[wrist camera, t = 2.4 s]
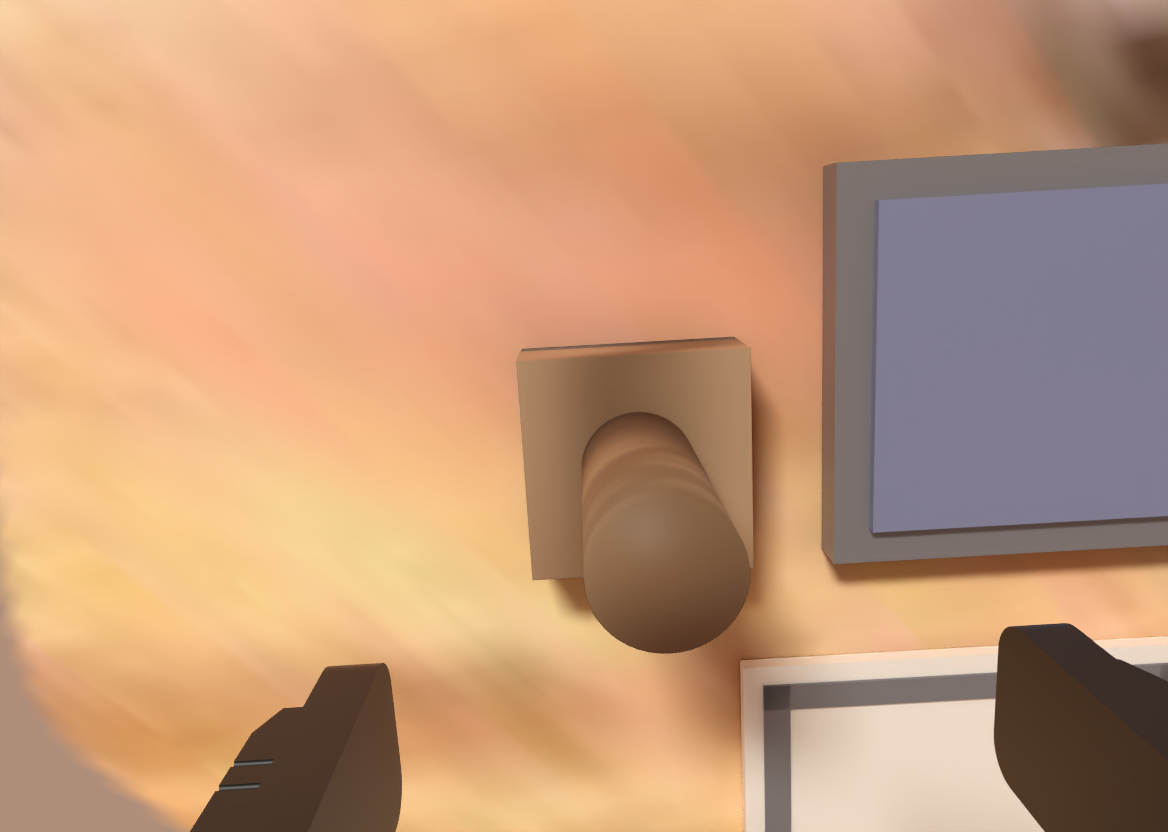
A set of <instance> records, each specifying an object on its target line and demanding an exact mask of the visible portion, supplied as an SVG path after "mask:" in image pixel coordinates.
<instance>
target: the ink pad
mask: <svg viewBox="0 0 1168 832" xmlns="http://www.w3.org/2000/svg"><path fill="white" fill-rule="evenodd" d="M1163 545H1168V144H1152V145H1134V146H1117V147H1100V148H1083V149H1066V150H1048V151H1031V152H1014V153H997V154H980V155H963V156H945V157H928V158H911V159H894V160H877V161H859V162H842V163H834V164H830V165H826V166H823V371H822V550H823V551H824V552H825V554H826V555H827V556H828V557H829V559H830V560H831V561H832V563H833V564H846V563H864V562H881V561H899V560H917V559H934V558H952V557H970V556H987V555H1005V554H1022V553H1040V552H1058V551H1075V550H1093V549H1110V548H1128V547H1146V546H1163Z"/></svg>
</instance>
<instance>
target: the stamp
mask: <svg viewBox="0 0 1168 832" xmlns="http://www.w3.org/2000/svg"><path fill="white" fill-rule="evenodd" d="M516 363H517V377H518V390H519V403H520V417H521V430H522V444H523V457H524V471H525V484H526V498H527V511H528V525H529V538H530V551H531V565H532V578H533V580H546V579H564V578H582V577H584V586H585V593H586V596H587V600H588V603H589V605H590V608H591V610H592V612H593V614H594V615H595V617H596V618H597V620H598V621H599V622H600V624H601V625H602V626H603V627H604V628H605V629H606V630H607V631H608V632H609V633H610V634H611V635H612V636H614V637H615V638H616V639H618V640H619V641H621V642H623V643H625V644H626V645H628V646H631V647H633V648H636V649H638V650H642V651H646V652H652V653H678V652H684V651H688V650H692V649H694V648H697V647H700V646H702V645H704V644H706V643H708V642H710V641H711V640H713V639H714V638H716V637H717V636H719V635H720V634H721V633H722V632H723V631H725V630H726V629H727V628H728V627H729V626H730V624H731V623H732V622H733V621H734V620H735V618H736V617H737V615H738V614H739V612H740V611H741V609H742V607H743V605H744V603H745V600H746V597H747V594H748V589H749V584H750V568H754V557H753V485H752V413H751V348H750V347H748V346H747V345H745V344H744V343H742V342H741V341H739V340H738V339H736V338H735V337H722V338H704V339H687V340H670V341H652V342H635V343H617V344H600V345H582V346H565V347H547V348H530V349H522V350H521V352H520V355H519V357H518V359H517V361H516Z"/></svg>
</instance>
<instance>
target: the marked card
mask: <svg viewBox="0 0 1168 832" xmlns="http://www.w3.org/2000/svg"><path fill="white" fill-rule="evenodd" d="M1093 641H1094V642H1095V643H1096V644H1098V645H1099V646H1100V647H1102V648H1103V649H1104V650H1105V651H1107V652H1108V653H1109V654H1111V655H1112V656H1113V657H1114V658H1116V659H1120V660H1123V661H1125V662H1127V663H1129V664H1131V665H1133V666H1136V667H1138V668H1140V669H1142V670H1144V671H1147V672H1149V673H1151V674H1153V675H1155V676H1158V677H1160V678H1162V679H1164V680H1165V681H1167V682H1168V636H1161V637H1143V638H1126V639H1108V640H1093ZM997 662H998V646H984V647H966V648H948V649H931V650H913V651H895V652H878V653H860V654H842V655H824V656H807V657H789V658H771V659H754V660H740V685H741V739H742V794H743V832H1044V830H1043V829H1042V828H1041V827H1040V825H1039V824H1038V823H1037V821H1036V820H1035V819H1034V818H1033V816H1032V815H1031V814H1030V813H1029V811H1028V810H1027V809H1026V808H1025V806H1024V805H1023V804H1022V803H1021V801H1020V800H1019V799H1018V798H1017V796H1016V795H1015V794H1014V792H1013V791H1012V790H1011V789H1010V787H1009V786H1008V784H1007V782H1006V781H1005V779H1004V777H1003V775H1002V772H1001V770H1000V767H999V764H998V761H997V757H996V752H995V746H994V717H995V699H996V681H997Z"/></svg>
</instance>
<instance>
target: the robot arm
mask: <svg viewBox="0 0 1168 832" xmlns="http://www.w3.org/2000/svg"><path fill="white" fill-rule="evenodd" d="M994 746H995V752H996V757H997V761H998V764H999V767H1000V770H1001V772H1002V775H1003V777H1004V779H1005V781H1006V782H1007V784H1008V786H1009V787H1010V789H1011V790H1012V791H1013V792H1014V794H1015V795H1016V796H1017V798H1018V799H1019V800H1020V801H1021V803H1022V804H1023V805H1024V806H1025V808H1026V809H1027V810H1028V811H1029V813H1030V814H1031V815H1032V816H1033V818H1034V819H1035V820H1036V821H1037V823H1038V824H1039V825H1040V827H1041V828H1042V829H1043V830H1044V832H1168V682H1167V681H1165V680H1164V679H1162V678H1160V677H1158V676H1155V675H1153V674H1151V673H1149V672H1147V671H1144V670H1142V669H1140V668H1138V667H1136V666H1133V665H1131V664H1129V663H1127V662H1125V661H1123V660H1120V659H1116V658H1114V657H1113V656H1112V655H1111V654H1109V653H1108V652H1107V651H1105V650H1104V649H1103V648H1102V647H1100V646H1099V645H1098V644H1096V643H1095V642H1094V641H1093V640H1091V639H1090V638H1089V637H1087V636H1086V635H1085V634H1084V633H1082V632H1081V631H1080V630H1079V629H1077V628H1076V627H1074V626H1073V625H1071V624H1068V623H1061V624H1045V625H1028V626H1012V627H1007V628H1006V629H1005V630H1004V631H1003V632H1002V634H1001V637H1000V640H999V646H998V662H997V681H996V699H995V717H994ZM401 795H402V775H401V764H400V755H399V746H398V738H397V729H396V721H395V712H394V703H393V695H392V686H391V679H390V674H389V670H388V668H387V666H386V664H384V663H376V664H360V665H343V666H328V667H326V668H325V669H324V671H323V672H322V674H321V676H320V678H319V679H318V681H317V683H316V685H315V687H314V688H313V690H312V692H311V694H310V696H309V697H308V699H307V701H306V703H305V705H304V706H303V707H296V708H283V709H282V710H281V711H279V712H278V713H277V714H276V715H274V716H273V717H272V718H270V719H269V720H268V721H267V722H265V723H264V724H263V725H262V726H260V727H259V728H258V729H257V730H255V731H254V732H253V733H252V734H251V735H250V737H249V739H248V740H247V742H246V743H245V745H244V747H243V748H242V750H241V751H240V753H239V755H238V756H237V758H236V759H235V761H234V767H230V769H229V770H228V772H227V774H226V775H225V777H224V778H223V780H222V782H221V783H220V785H219V791H215V793H214V794H213V796H212V797H211V799H210V801H209V802H208V804H207V805H206V807H205V809H204V810H203V812H202V813H201V815H200V817H199V818H198V820H197V821H196V823H195V825H194V826H193V828H192V829H191V831H190V832H395V831H396V828H397V824H398V820H399V815H400V808H401Z"/></svg>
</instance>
